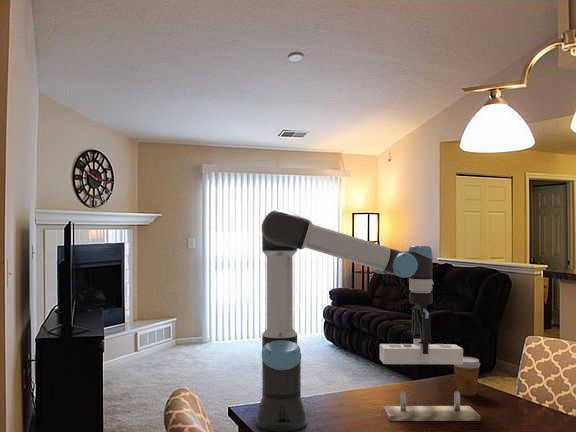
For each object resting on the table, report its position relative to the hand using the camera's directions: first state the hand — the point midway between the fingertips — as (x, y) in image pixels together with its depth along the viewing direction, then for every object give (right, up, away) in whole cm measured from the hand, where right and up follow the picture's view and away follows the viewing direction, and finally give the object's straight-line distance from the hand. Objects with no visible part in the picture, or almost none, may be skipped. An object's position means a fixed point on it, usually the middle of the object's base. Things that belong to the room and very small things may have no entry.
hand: (421, 360), depth 170 cm
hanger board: (0, -14, -10) cm, 17 cm away
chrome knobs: (0, -14, -10) cm, 17 cm away
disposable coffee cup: (+20, -16, +13) cm, 28 cm away
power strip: (0, 0, 0) cm, 0 cm away
